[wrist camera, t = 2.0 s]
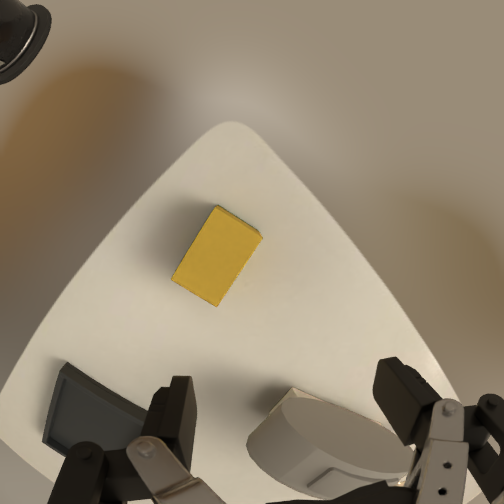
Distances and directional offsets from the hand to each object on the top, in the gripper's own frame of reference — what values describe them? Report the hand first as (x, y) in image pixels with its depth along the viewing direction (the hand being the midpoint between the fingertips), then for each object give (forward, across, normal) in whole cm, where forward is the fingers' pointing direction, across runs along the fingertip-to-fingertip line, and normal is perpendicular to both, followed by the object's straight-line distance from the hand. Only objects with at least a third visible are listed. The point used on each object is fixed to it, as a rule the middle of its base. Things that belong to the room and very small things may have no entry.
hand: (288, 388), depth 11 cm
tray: (+18, +24, +23) cm, 37 cm away
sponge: (+18, +4, -2) cm, 18 cm away
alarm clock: (+18, -9, +21) cm, 29 cm away
